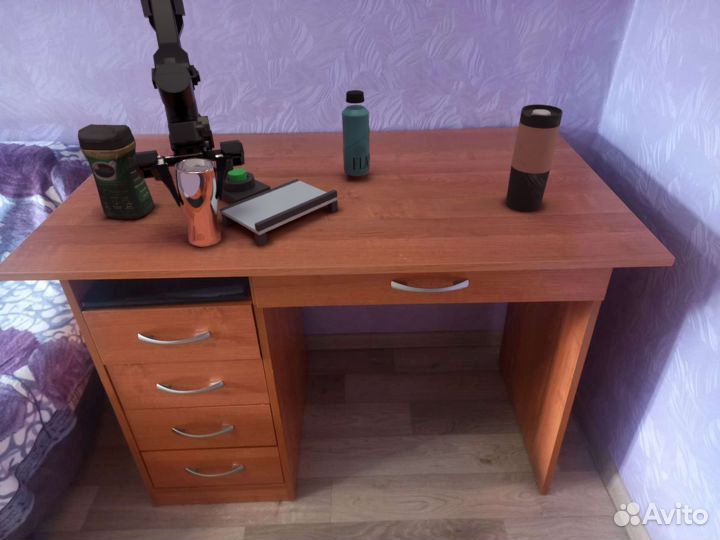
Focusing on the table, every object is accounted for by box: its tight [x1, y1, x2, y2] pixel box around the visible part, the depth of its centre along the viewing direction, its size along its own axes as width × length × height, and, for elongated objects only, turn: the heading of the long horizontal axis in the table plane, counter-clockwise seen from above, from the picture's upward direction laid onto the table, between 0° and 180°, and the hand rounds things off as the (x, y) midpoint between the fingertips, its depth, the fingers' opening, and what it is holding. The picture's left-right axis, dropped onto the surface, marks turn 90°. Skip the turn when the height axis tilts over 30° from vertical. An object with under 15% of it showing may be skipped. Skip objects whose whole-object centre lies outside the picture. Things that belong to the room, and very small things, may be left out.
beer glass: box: [174, 158, 222, 248], centre depth 87 cm, size 7×7×15 cm
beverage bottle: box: [341, 89, 371, 177], centre depth 109 cm, size 6×7×20 cm
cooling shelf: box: [219, 178, 339, 247], centre depth 97 cm, size 13×20×4 cm, turn 136°
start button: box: [228, 167, 247, 182], centre depth 105 cm, size 4×4×2 cm
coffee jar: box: [77, 123, 155, 220], centre depth 96 cm, size 10×8×19 cm
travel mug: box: [505, 103, 563, 213], centre depth 96 cm, size 8×8×20 cm
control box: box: [218, 171, 272, 205], centre depth 107 cm, size 11×9×4 cm
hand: (200, 203), depth 85 cm, fingers closed on beer glass, 7 cm apart
